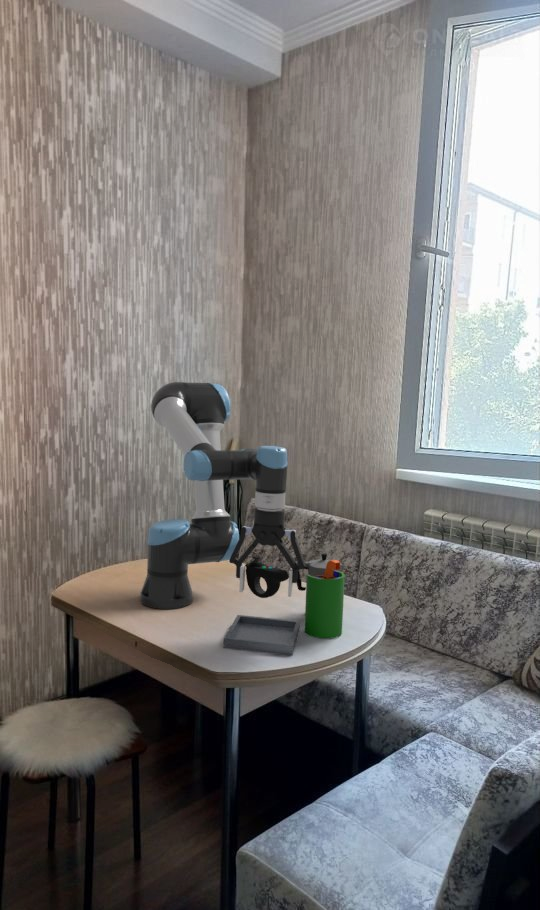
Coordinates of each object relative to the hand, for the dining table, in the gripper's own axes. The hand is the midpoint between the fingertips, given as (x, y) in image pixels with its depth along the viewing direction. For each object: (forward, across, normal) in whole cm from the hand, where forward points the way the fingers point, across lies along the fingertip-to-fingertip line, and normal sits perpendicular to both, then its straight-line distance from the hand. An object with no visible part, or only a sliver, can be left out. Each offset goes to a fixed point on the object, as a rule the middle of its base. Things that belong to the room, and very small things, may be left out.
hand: (265, 592), depth 174 cm
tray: (+12, 0, 0) cm, 12 cm away
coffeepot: (+12, +12, +21) cm, 27 cm away
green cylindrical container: (+12, +15, +9) cm, 21 cm away
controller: (+1, 0, 0) cm, 1 cm away
